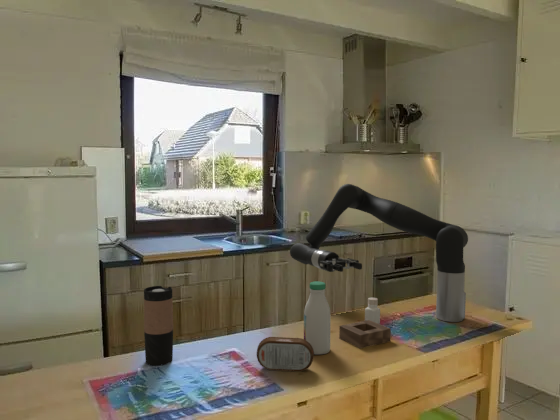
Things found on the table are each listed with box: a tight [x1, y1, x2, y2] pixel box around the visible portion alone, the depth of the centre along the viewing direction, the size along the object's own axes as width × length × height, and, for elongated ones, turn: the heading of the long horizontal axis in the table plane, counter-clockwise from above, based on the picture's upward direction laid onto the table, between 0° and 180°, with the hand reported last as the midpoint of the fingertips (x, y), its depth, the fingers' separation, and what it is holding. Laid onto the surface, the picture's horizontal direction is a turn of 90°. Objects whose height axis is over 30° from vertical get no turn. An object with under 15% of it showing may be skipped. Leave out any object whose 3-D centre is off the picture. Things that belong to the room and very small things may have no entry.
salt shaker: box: [364, 297, 381, 325], centre depth 158 cm, size 4×4×10 cm
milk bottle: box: [303, 280, 331, 356], centre depth 136 cm, size 8×8×20 cm
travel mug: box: [143, 285, 174, 367], centre depth 128 cm, size 8×8×20 cm
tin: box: [256, 336, 315, 372], centre depth 123 cm, size 15×3×8 cm, turn 84°
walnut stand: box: [338, 320, 392, 349], centre depth 145 cm, size 12×10×4 cm
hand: (351, 267), depth 167 cm, fingers open, 8 cm apart
